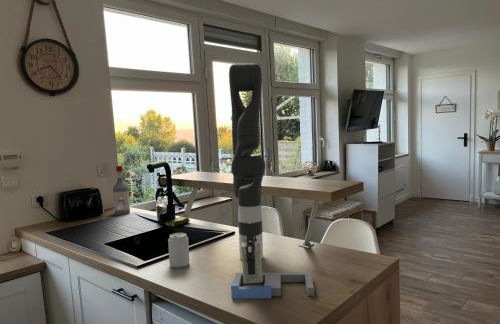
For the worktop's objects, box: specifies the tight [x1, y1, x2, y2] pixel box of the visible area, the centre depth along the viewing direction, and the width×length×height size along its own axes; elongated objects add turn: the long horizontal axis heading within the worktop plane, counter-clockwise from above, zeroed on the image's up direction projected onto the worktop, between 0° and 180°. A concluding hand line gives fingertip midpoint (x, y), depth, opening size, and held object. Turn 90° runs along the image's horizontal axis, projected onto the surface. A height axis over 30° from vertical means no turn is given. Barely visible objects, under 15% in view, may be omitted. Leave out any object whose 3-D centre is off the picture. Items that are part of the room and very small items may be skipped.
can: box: [167, 232, 190, 269], centre depth 141 cm, size 8×8×12 cm
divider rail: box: [230, 271, 315, 300], centre depth 118 cm, size 14×25×4 cm, turn 86°
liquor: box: [112, 165, 131, 216], centre depth 232 cm, size 9×9×30 cm
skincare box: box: [241, 242, 264, 285], centre depth 119 cm, size 6×4×12 cm
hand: (252, 270), depth 119 cm, fingers closed on skincare box, 4 cm apart
